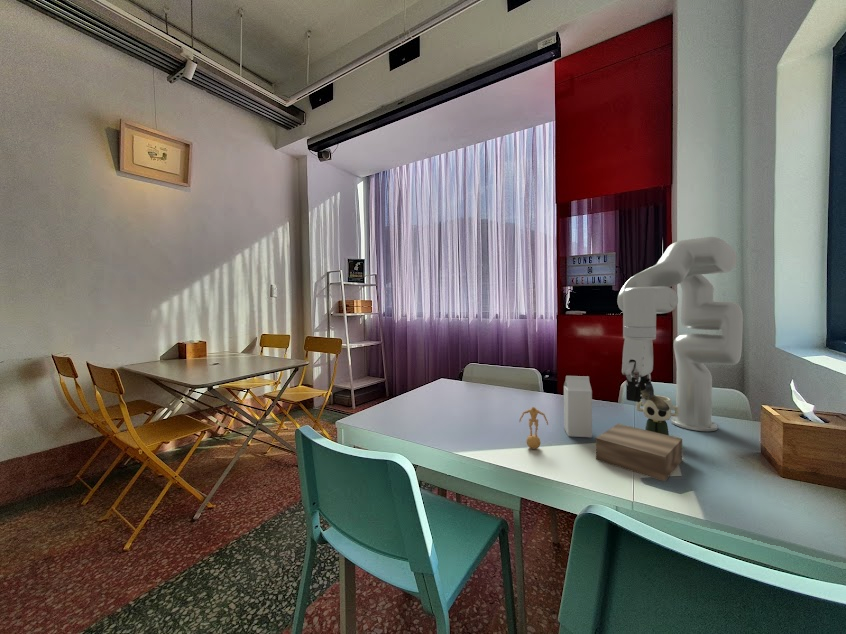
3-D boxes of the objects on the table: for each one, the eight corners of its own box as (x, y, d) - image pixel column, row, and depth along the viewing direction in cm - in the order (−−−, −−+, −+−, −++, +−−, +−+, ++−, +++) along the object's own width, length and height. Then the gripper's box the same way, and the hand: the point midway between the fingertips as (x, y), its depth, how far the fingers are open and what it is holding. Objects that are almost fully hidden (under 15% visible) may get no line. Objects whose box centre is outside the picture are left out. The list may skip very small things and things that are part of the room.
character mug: (635, 438, 108) (635, 397, 107) (637, 431, 113) (637, 392, 113) (678, 446, 101) (678, 403, 101) (678, 438, 107) (678, 397, 106)
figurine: (518, 449, 102) (518, 409, 101) (520, 441, 107) (520, 403, 107) (548, 453, 99) (547, 412, 98) (548, 444, 104) (548, 406, 104)
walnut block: (617, 442, 105) (618, 423, 104) (682, 460, 93) (682, 438, 92) (595, 459, 94) (595, 438, 94) (664, 481, 82) (665, 457, 82)
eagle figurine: (620, 398, 93) (648, 401, 84) (629, 375, 95) (658, 375, 86) (642, 412, 94) (672, 416, 85) (650, 389, 96) (681, 390, 87)
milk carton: (592, 438, 109) (592, 378, 108) (568, 436, 110) (568, 378, 110) (586, 429, 116) (586, 374, 115) (563, 428, 117) (563, 373, 116)
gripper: (634, 330, 101) (634, 389, 101) (611, 334, 89) (611, 401, 90) (665, 331, 95) (664, 394, 96) (644, 336, 83) (644, 407, 84)
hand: (638, 397), depth 93 cm, fingers closed on eagle figurine, 7 cm apart
